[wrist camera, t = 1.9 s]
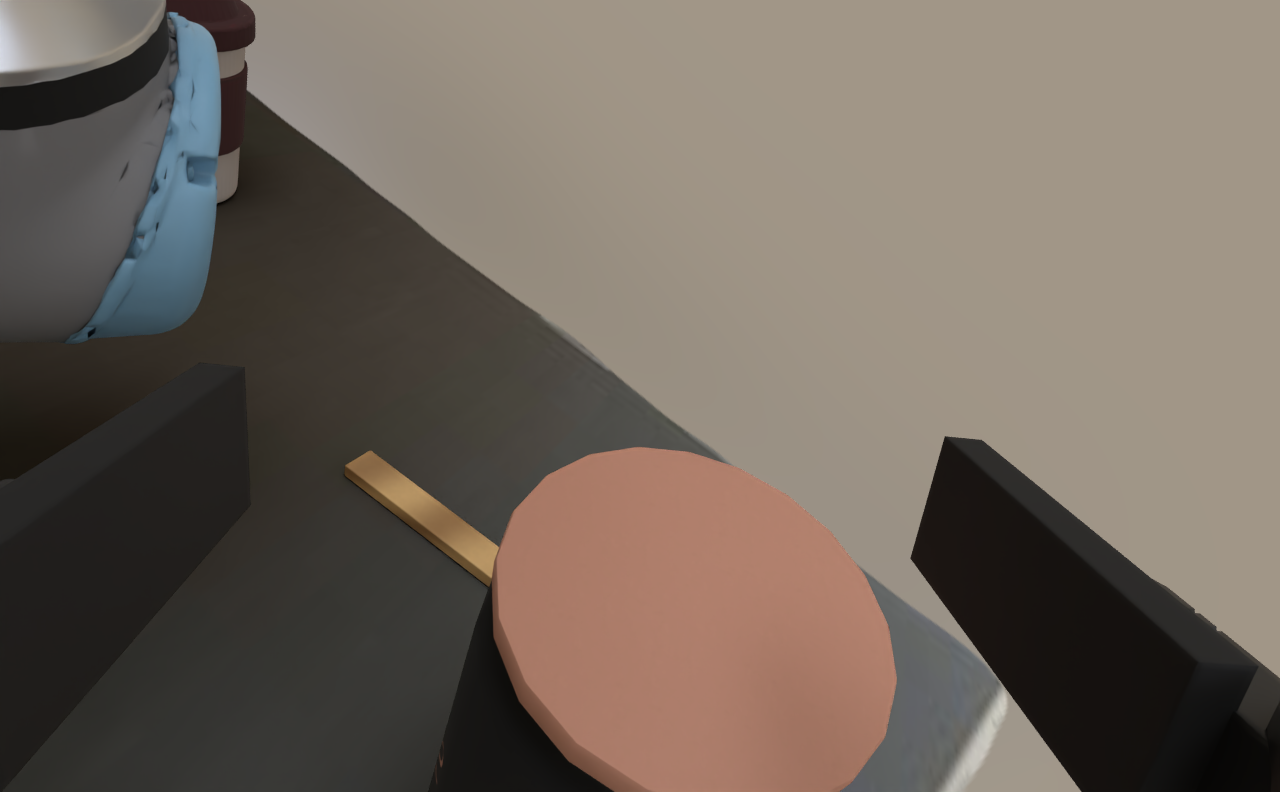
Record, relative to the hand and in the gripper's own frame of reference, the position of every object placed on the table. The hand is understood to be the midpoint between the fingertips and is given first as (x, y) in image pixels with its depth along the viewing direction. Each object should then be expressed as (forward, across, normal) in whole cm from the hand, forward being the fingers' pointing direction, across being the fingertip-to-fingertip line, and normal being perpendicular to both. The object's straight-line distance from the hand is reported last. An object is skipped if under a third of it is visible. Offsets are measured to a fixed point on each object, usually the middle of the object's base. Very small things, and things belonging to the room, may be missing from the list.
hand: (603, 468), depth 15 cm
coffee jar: (+9, 0, -22) cm, 24 cm away
